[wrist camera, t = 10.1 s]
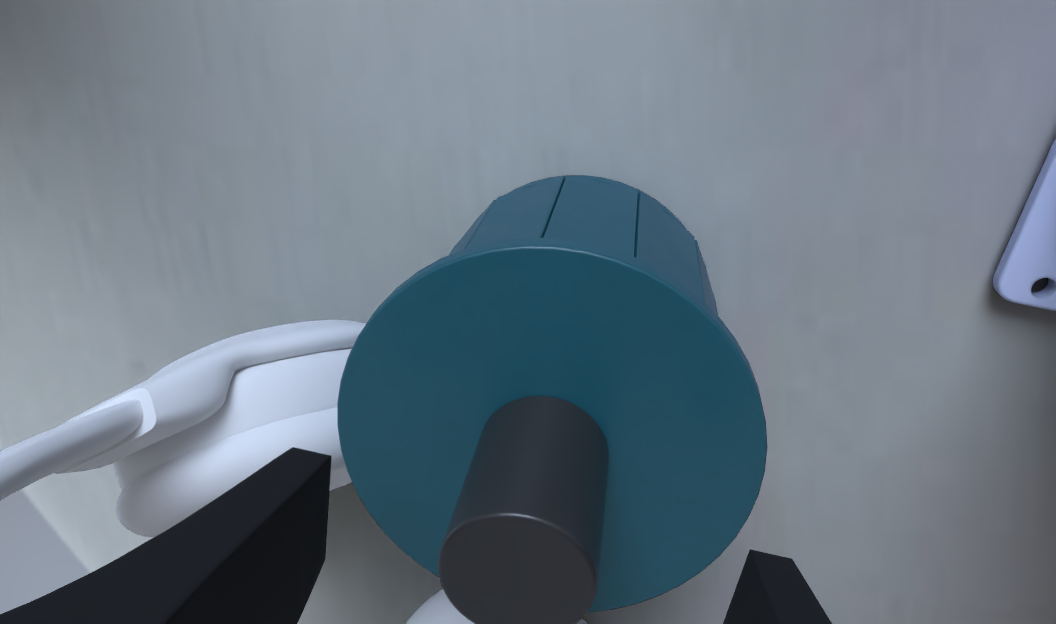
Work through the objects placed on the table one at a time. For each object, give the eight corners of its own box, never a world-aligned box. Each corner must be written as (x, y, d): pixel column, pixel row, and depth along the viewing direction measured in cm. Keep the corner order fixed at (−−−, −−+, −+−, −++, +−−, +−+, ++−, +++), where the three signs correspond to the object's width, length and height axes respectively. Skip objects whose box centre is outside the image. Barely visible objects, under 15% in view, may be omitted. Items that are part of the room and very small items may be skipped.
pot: (741, 204, 20) (778, 313, 14) (674, 436, 22) (682, 606, 17) (467, 150, 20) (392, 234, 14) (437, 384, 23) (364, 533, 17)
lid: (823, 288, 13) (882, 410, 10) (702, 633, 17) (715, 814, 13) (359, 194, 14) (260, 279, 10) (334, 548, 17) (252, 702, 14)
